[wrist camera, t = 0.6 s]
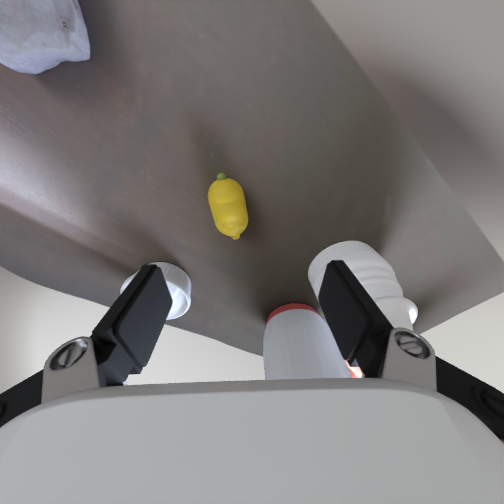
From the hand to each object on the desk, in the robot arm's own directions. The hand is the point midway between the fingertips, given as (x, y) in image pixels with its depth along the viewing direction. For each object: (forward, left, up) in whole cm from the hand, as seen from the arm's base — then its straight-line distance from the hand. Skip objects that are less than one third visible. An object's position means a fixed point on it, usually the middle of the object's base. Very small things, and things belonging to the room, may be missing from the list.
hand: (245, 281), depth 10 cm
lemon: (+3, -2, -19) cm, 19 cm away
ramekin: (+22, -9, -19) cm, 30 cm away
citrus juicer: (+25, +21, -19) cm, 38 cm away
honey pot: (+8, +22, -19) cm, 30 cm away
